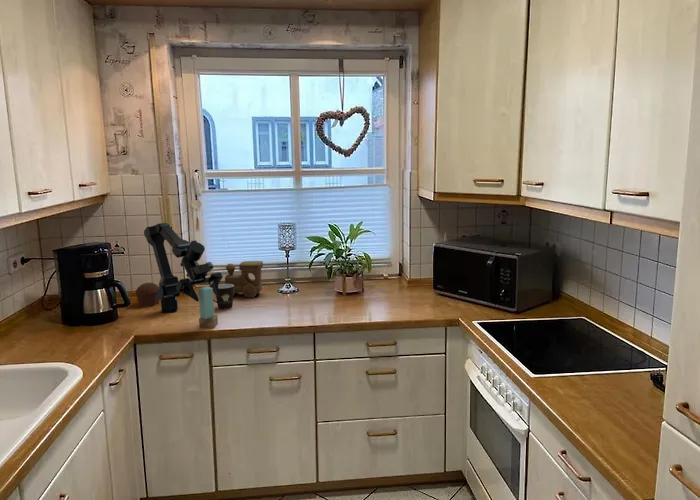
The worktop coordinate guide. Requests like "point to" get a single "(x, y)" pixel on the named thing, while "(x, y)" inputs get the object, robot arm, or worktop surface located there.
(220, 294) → the coffee mug
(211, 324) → the base block
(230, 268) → the wooden toy train
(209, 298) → the tall block
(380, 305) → the worktop surface
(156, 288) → the muffin
